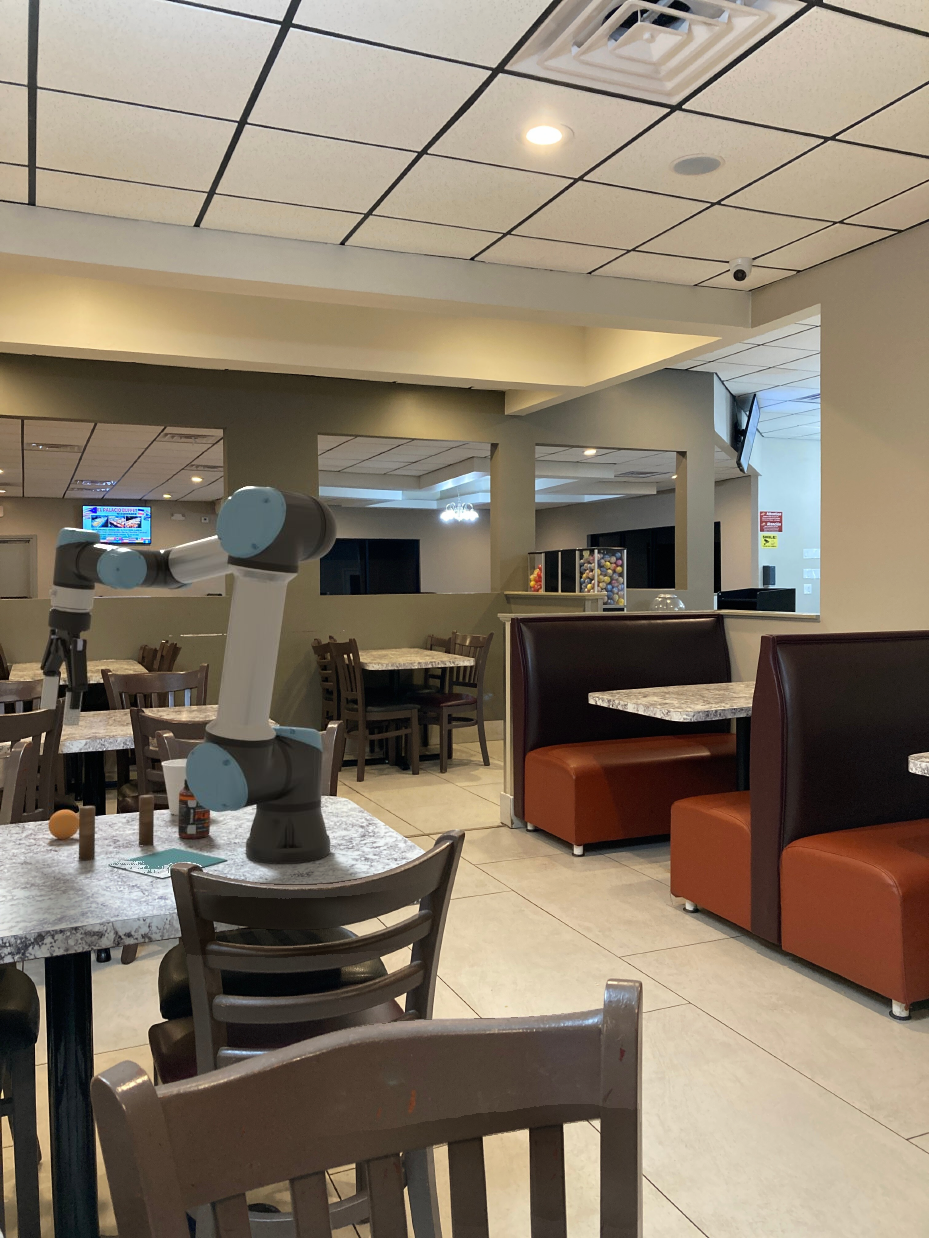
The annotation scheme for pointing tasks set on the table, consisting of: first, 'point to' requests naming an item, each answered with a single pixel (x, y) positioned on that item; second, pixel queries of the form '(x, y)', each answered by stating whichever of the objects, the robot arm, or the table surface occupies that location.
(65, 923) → the table surface
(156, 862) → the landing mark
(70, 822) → the ball
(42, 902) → the table surface
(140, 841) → the post right
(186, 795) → the supplement bottle
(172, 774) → the cup
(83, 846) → the post left
